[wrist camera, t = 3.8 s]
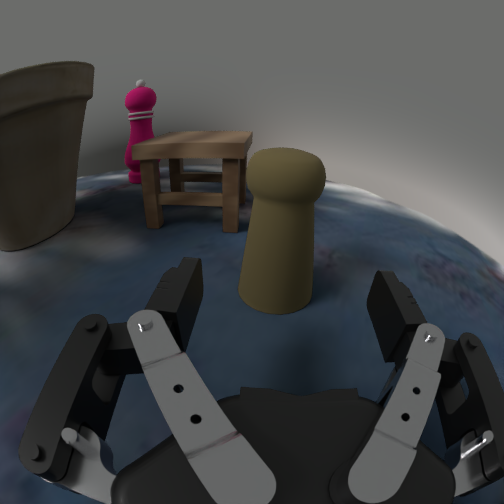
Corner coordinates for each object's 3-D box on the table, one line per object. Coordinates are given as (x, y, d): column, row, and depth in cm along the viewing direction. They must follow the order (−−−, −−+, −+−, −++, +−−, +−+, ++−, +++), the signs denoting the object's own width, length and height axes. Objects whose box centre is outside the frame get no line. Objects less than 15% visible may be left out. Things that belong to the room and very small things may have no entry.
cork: (222, 284, 22) (221, 146, 17) (276, 260, 26) (286, 141, 20) (273, 326, 18) (290, 163, 13) (326, 292, 22) (352, 157, 16)
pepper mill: (143, 186, 45) (138, 76, 35) (119, 182, 48) (114, 83, 38) (169, 176, 51) (167, 77, 41) (145, 173, 54) (142, 82, 43)
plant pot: (-30, 304, 16) (-77, 101, 5) (-30, 239, 27) (-51, 122, 16) (135, 216, 34) (126, 52, 23) (74, 190, 45) (65, 86, 34)
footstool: (140, 230, 30) (131, 145, 25) (172, 196, 41) (169, 132, 36) (242, 235, 30) (244, 143, 25) (250, 198, 40) (252, 131, 35)
